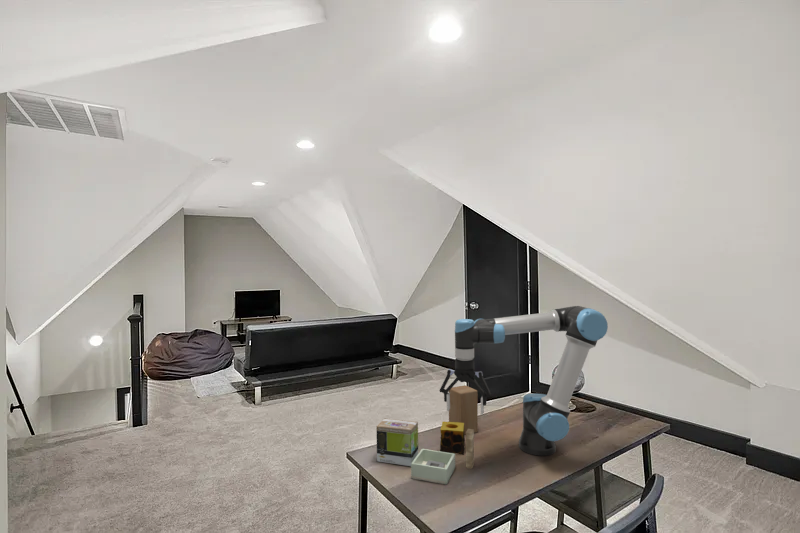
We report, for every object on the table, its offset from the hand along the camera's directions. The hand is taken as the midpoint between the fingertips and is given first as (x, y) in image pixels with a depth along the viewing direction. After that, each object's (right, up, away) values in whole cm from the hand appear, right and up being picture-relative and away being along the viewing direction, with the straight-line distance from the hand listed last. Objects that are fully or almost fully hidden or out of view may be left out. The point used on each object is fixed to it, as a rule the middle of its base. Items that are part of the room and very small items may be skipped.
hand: (465, 411), depth 172 cm
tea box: (-27, -21, +5) cm, 35 cm away
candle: (-3, -21, +14) cm, 26 cm away
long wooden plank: (+2, -21, -2) cm, 21 cm away
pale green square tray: (-13, -21, -7) cm, 26 cm away
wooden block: (+4, -21, +34) cm, 40 cm away
